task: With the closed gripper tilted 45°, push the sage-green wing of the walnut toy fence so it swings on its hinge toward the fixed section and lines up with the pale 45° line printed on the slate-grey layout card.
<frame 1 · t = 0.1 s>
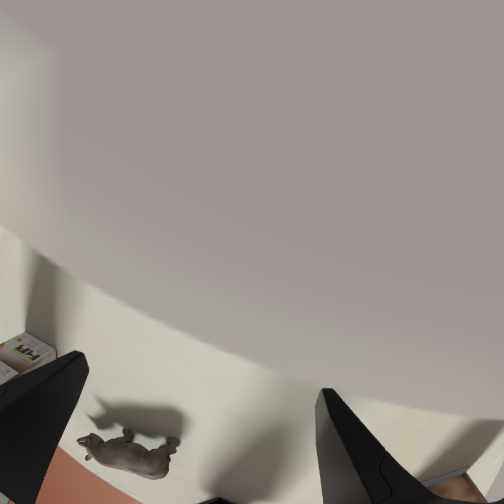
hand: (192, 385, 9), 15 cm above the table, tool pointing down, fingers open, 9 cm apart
coffee box: (43, 368, 27), on the table
rhino figurine: (130, 436, 27), on the table
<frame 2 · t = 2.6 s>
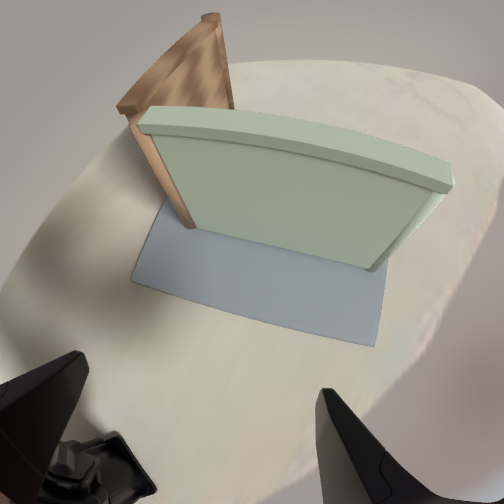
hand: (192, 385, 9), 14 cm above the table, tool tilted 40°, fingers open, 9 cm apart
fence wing: (281, 201, 19), point 7 cm above the table, hinge at 0.0°
layout card: (279, 201, 27), on the table
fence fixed: (193, 223, 27), resting on layout card
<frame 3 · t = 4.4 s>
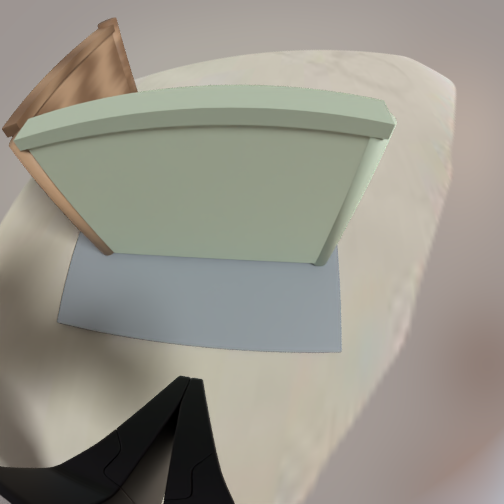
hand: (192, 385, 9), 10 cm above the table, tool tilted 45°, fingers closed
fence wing: (187, 199, 15), point 7 cm above the table, hinge at 0.0°
layout card: (200, 206, 24), on the table
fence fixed: (110, 248, 22), resting on layout card
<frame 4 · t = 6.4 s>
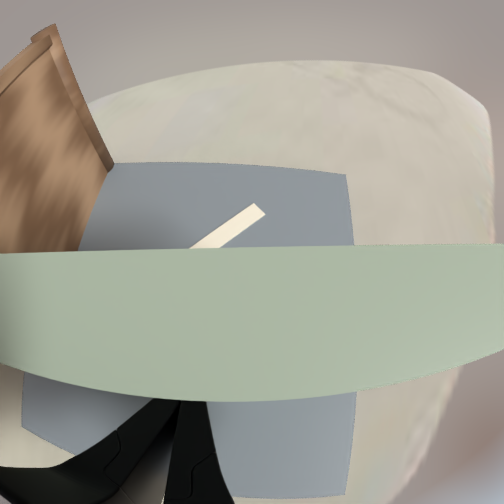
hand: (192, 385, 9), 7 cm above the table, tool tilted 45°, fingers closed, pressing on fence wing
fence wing: (140, 358, 9), point 7 cm above the table, hinge at 6.4°, touching gripper
layout card: (175, 308, 17), on the table
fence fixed: (66, 354, 15), resting on layout card
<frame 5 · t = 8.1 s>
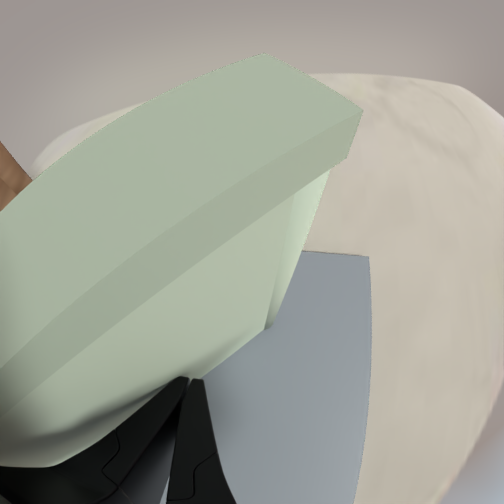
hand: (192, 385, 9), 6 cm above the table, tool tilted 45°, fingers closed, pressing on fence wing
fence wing: (72, 421, 7), point 7 cm above the table, hinge at 44.4°, touching gripper
layout card: (163, 431, 13), on the table
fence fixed: (59, 458, 11), resting on layout card
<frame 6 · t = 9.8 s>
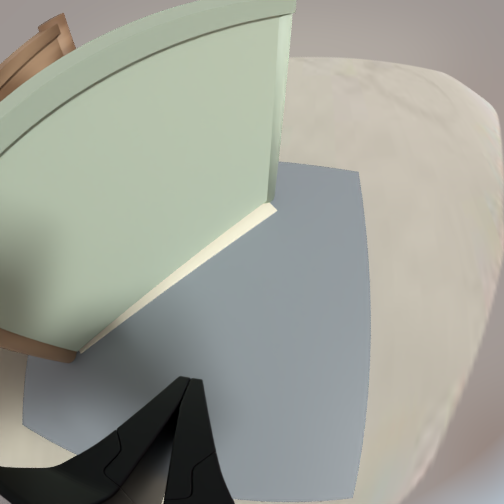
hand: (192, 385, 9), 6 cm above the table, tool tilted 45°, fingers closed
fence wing: (118, 213, 11), point 7 cm above the table, hinge at 47.8°
layout card: (183, 305, 17), on the table
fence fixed: (69, 351, 15), resting on layout card
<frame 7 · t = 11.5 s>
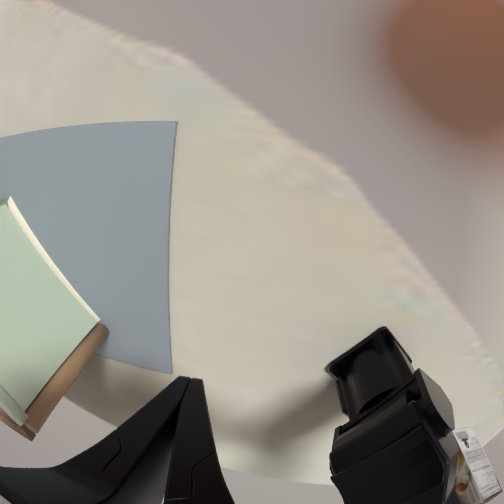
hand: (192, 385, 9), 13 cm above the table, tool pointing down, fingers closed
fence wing: (1, 296, 16), point 7 cm above the table, hinge at 47.8°
layout card: (59, 250, 22), on the table
coffee box: (446, 443, 31), on the table
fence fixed: (103, 328, 24), resting on layout card
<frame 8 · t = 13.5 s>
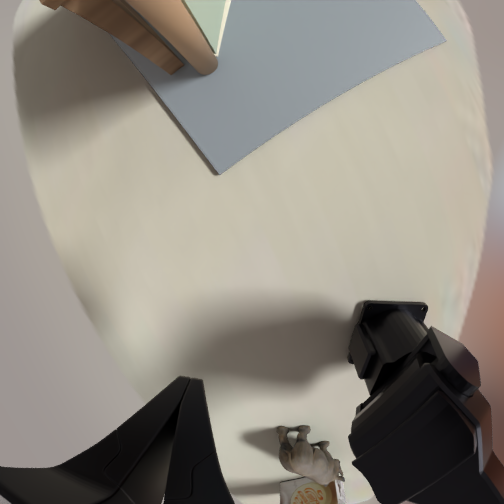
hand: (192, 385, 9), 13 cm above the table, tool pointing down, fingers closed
coffee box: (312, 480, 34), on the table
rhino figurine: (314, 443, 29), on the table
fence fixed: (207, 65, 16), resting on layout card
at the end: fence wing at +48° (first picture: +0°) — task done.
